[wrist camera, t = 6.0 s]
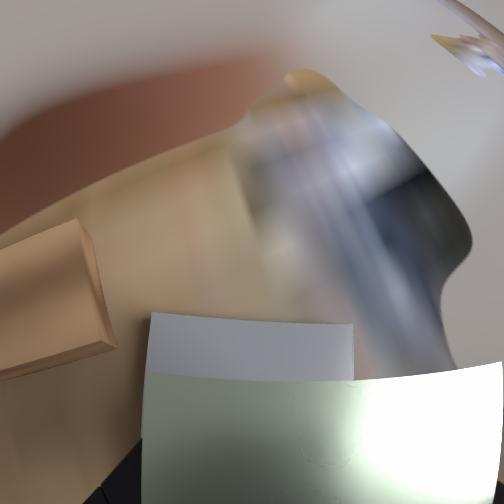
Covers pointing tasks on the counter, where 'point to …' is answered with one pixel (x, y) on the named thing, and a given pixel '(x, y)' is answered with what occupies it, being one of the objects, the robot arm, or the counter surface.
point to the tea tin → (323, 440)
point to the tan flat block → (51, 302)
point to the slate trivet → (248, 350)
